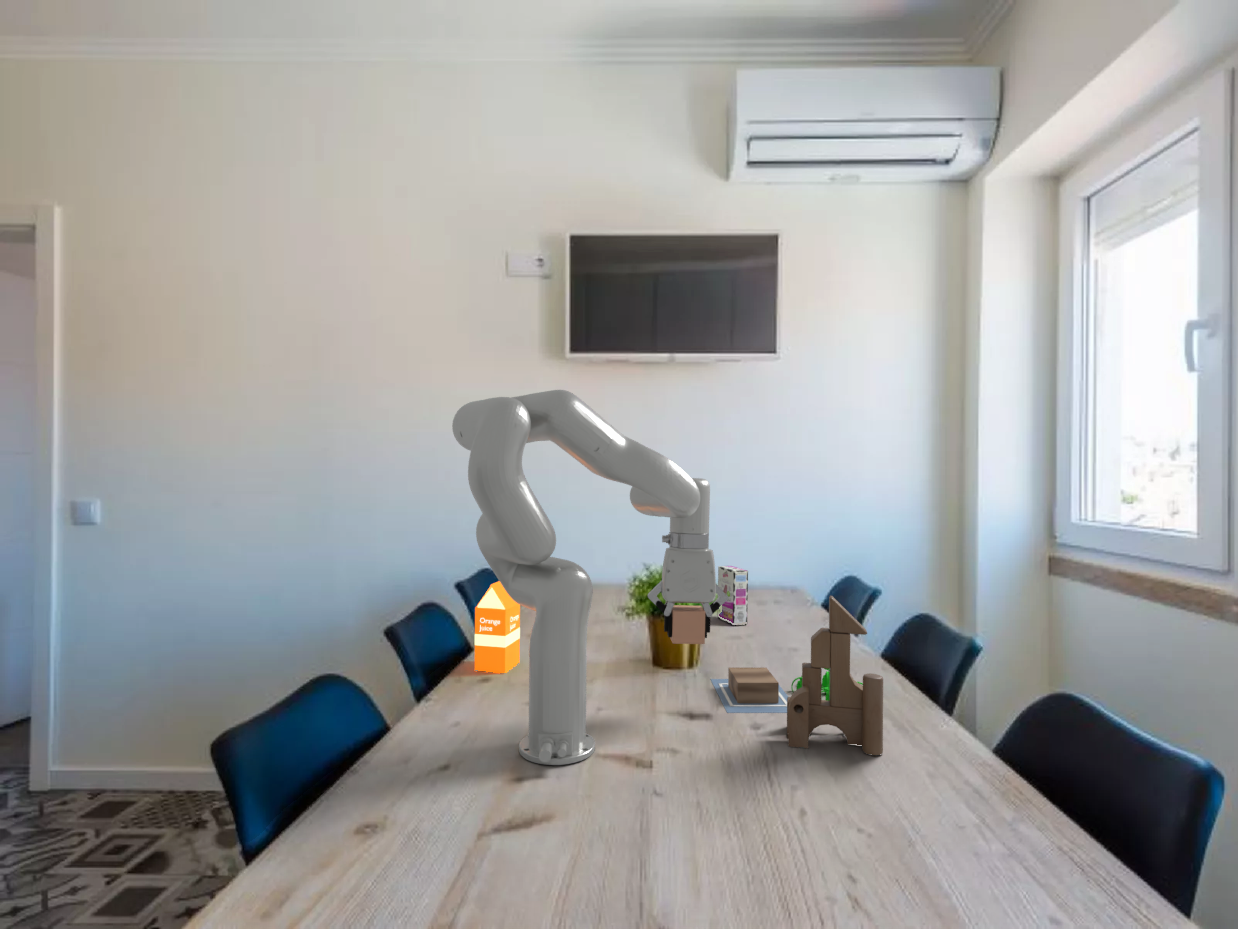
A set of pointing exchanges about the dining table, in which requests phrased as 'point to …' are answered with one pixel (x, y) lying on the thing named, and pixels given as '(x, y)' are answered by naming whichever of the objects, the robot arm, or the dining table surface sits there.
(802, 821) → the dining table surface
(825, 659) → the wooden toy
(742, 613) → the candy bar box
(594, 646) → the dining table surface
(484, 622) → the orange juice
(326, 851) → the dining table surface
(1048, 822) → the dining table surface
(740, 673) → the walnut base
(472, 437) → the robot arm
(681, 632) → the terracotta cube
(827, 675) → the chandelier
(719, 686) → the blueprint board
